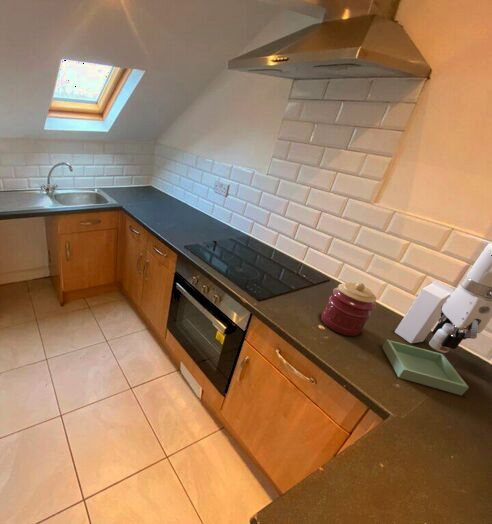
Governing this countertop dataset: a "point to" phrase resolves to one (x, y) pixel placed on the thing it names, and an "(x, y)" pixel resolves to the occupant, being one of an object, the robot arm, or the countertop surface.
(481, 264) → the robot arm
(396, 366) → the tray
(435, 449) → the countertop surface
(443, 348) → the pill bottle
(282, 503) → the countertop surface
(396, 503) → the countertop surface
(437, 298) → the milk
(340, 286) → the kitchen canister
